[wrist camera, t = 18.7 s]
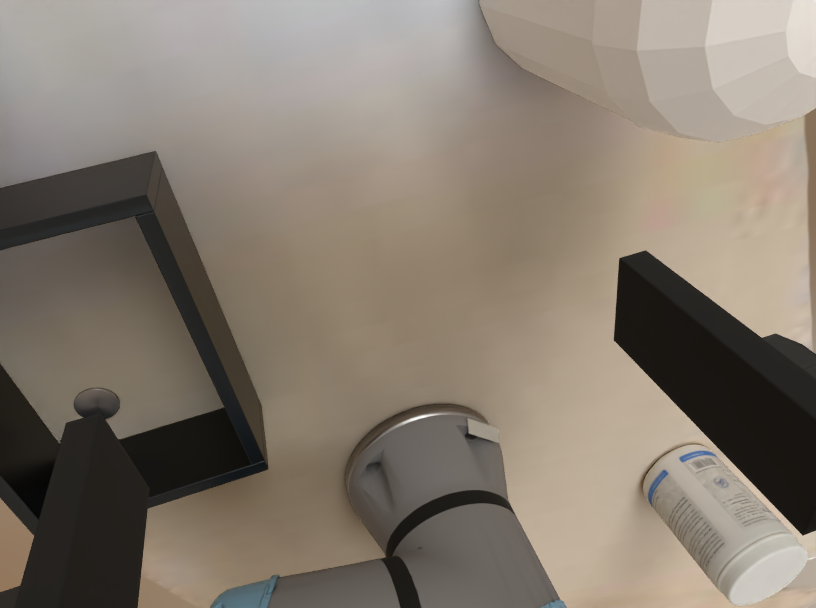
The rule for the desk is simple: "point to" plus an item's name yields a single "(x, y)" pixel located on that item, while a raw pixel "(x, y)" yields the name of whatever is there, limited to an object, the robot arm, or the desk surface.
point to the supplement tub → (723, 525)
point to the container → (671, 59)
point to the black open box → (150, 451)
